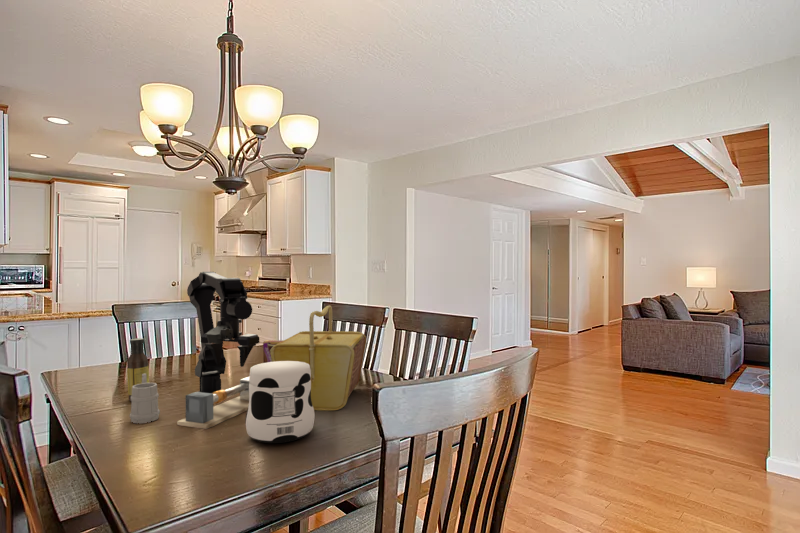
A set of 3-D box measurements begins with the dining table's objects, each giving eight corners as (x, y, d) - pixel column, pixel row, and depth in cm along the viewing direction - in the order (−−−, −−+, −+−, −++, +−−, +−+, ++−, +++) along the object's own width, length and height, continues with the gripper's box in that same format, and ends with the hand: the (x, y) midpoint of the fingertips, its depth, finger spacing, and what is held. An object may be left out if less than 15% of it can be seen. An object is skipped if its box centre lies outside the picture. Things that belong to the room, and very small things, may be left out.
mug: (129, 425, 132) (129, 382, 132) (129, 414, 142) (129, 373, 142) (160, 421, 136) (160, 379, 135) (158, 410, 146) (158, 370, 146)
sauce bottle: (152, 396, 161) (152, 337, 161) (143, 401, 155) (143, 340, 155) (133, 396, 161) (133, 337, 161) (123, 401, 155) (123, 340, 155)
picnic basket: (353, 413, 142) (353, 313, 142) (268, 412, 144) (268, 312, 143) (367, 388, 171) (366, 304, 171) (296, 387, 173) (295, 304, 173)
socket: (196, 416, 136) (196, 391, 136) (213, 418, 134) (213, 393, 134) (185, 421, 133) (185, 395, 132) (203, 423, 131) (202, 397, 130)
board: (251, 394, 163) (251, 391, 163) (276, 396, 160) (276, 393, 160) (177, 424, 132) (177, 421, 132) (206, 429, 129) (206, 425, 129)
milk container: (280, 421, 135) (279, 357, 135) (328, 431, 127) (327, 364, 126) (230, 440, 120) (230, 369, 120) (281, 454, 112) (280, 377, 112)
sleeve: (257, 392, 161) (257, 373, 161) (267, 393, 160) (267, 374, 160) (240, 399, 153) (239, 379, 153) (250, 401, 152) (250, 380, 152)
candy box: (289, 379, 184) (289, 339, 184) (286, 382, 180) (286, 341, 180) (266, 379, 185) (266, 339, 184) (263, 382, 180) (262, 341, 180)
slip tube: (244, 389, 155) (244, 379, 155) (253, 390, 153) (253, 380, 153) (194, 409, 134) (194, 397, 134) (204, 410, 133) (203, 398, 133)
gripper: (187, 318, 148) (188, 368, 148) (237, 320, 142) (237, 373, 142) (212, 315, 159) (213, 361, 159) (260, 316, 153) (260, 365, 153)
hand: (230, 365), depth 153 cm, fingers open, 9 cm apart
